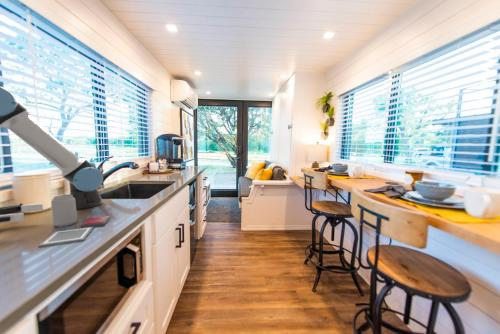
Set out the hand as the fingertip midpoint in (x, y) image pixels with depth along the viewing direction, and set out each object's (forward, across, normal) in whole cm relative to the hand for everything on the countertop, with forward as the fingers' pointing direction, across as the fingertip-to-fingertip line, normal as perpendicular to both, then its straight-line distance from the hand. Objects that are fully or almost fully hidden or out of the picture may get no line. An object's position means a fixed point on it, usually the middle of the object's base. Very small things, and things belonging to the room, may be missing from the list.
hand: (33, 211), depth 85 cm
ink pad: (+21, +4, -7) cm, 22 cm away
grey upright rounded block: (+10, 0, -7) cm, 12 cm away
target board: (+16, +16, -7) cm, 24 cm away
